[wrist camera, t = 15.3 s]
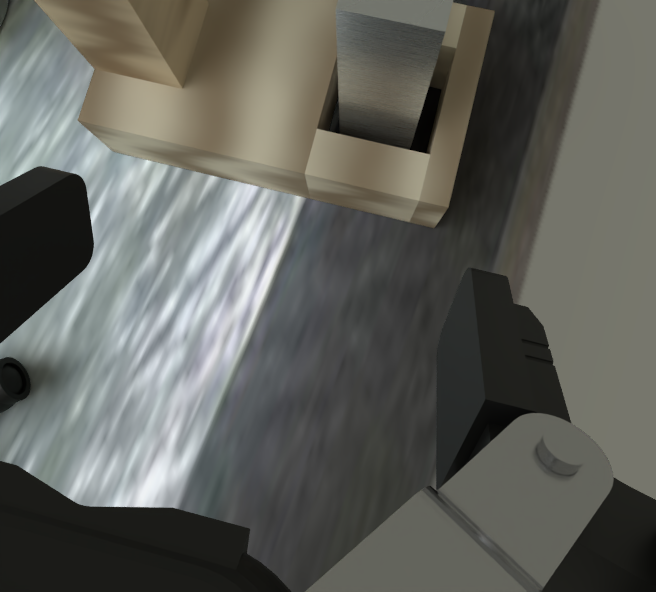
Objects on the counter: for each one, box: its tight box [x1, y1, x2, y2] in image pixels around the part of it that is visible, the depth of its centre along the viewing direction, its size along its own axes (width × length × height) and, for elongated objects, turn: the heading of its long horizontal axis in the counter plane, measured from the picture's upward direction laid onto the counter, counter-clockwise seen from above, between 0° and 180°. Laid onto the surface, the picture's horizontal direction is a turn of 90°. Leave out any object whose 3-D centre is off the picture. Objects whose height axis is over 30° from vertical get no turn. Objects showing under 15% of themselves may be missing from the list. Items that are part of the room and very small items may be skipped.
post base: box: [34, 0, 495, 228], centre depth 24 cm, size 20×11×12 cm, turn 76°
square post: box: [336, 0, 453, 150], centre depth 24 cm, size 4×4×12 cm
